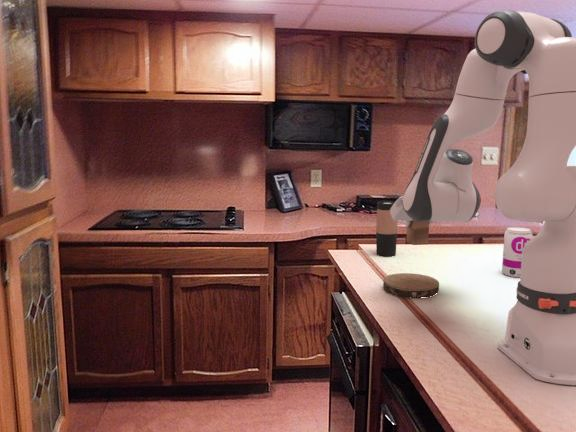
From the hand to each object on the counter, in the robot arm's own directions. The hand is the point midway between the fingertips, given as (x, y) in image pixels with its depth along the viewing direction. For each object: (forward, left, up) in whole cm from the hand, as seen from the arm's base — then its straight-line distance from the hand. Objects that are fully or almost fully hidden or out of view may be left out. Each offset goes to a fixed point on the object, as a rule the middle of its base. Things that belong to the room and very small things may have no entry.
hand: (416, 224), depth 147 cm
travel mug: (+39, +5, -19) cm, 44 cm away
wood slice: (-3, +2, -20) cm, 20 cm away
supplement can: (+15, -34, -19) cm, 42 cm away
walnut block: (-1, 0, -5) cm, 5 cm away
